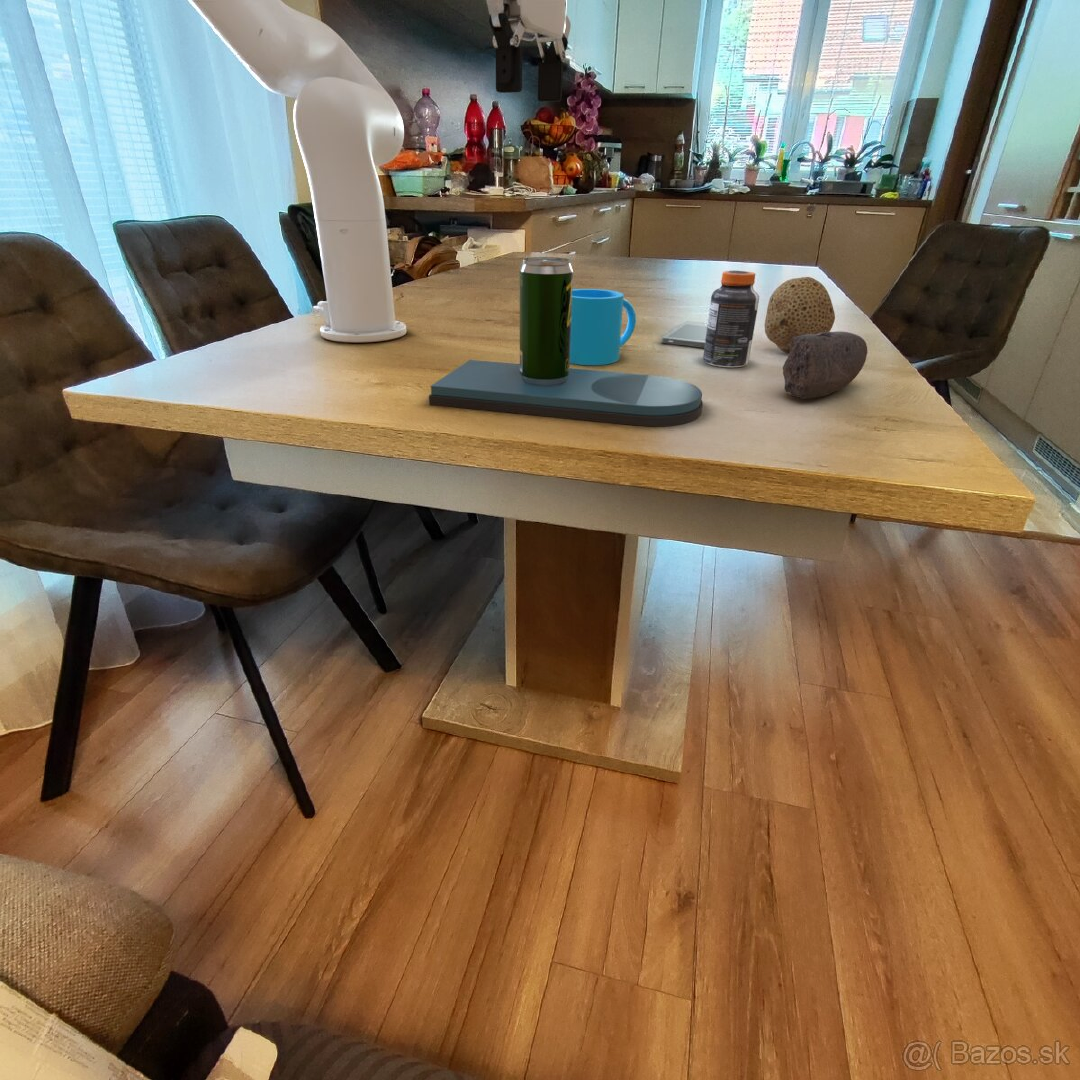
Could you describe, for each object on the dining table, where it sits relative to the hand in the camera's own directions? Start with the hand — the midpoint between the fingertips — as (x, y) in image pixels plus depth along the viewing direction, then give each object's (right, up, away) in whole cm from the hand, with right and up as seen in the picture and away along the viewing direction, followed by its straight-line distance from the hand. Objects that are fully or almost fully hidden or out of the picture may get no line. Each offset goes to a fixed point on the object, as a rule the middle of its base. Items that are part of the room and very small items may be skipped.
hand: (530, 96), depth 76 cm
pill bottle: (+26, -30, +8) cm, 40 cm away
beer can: (+2, -36, -7) cm, 37 cm away
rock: (+34, -36, -3) cm, 50 cm away
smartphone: (+26, -22, +22) cm, 41 cm away
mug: (+9, -28, +11) cm, 32 cm away
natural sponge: (+37, -27, +14) cm, 48 cm away
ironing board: (+5, -38, -7) cm, 39 cm away
